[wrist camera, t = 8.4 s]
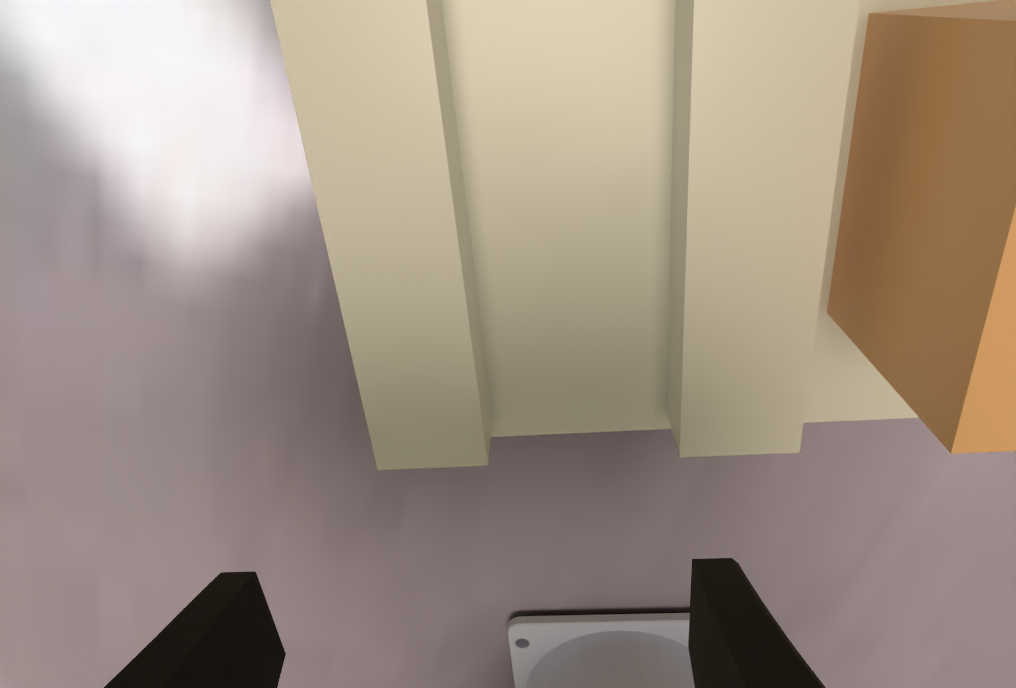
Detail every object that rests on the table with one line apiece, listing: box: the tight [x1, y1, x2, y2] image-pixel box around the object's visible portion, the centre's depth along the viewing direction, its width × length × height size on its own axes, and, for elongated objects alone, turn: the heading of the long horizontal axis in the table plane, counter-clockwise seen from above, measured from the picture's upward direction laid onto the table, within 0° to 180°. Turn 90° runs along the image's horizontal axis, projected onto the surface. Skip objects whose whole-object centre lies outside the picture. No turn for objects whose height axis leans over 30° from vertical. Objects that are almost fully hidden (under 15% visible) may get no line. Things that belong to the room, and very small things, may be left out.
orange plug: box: [827, 0, 1016, 453], centre depth 13 cm, size 7×3×6 cm, turn 5°
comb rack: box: [270, 0, 998, 470], centre depth 15 cm, size 13×27×3 cm, turn 95°
